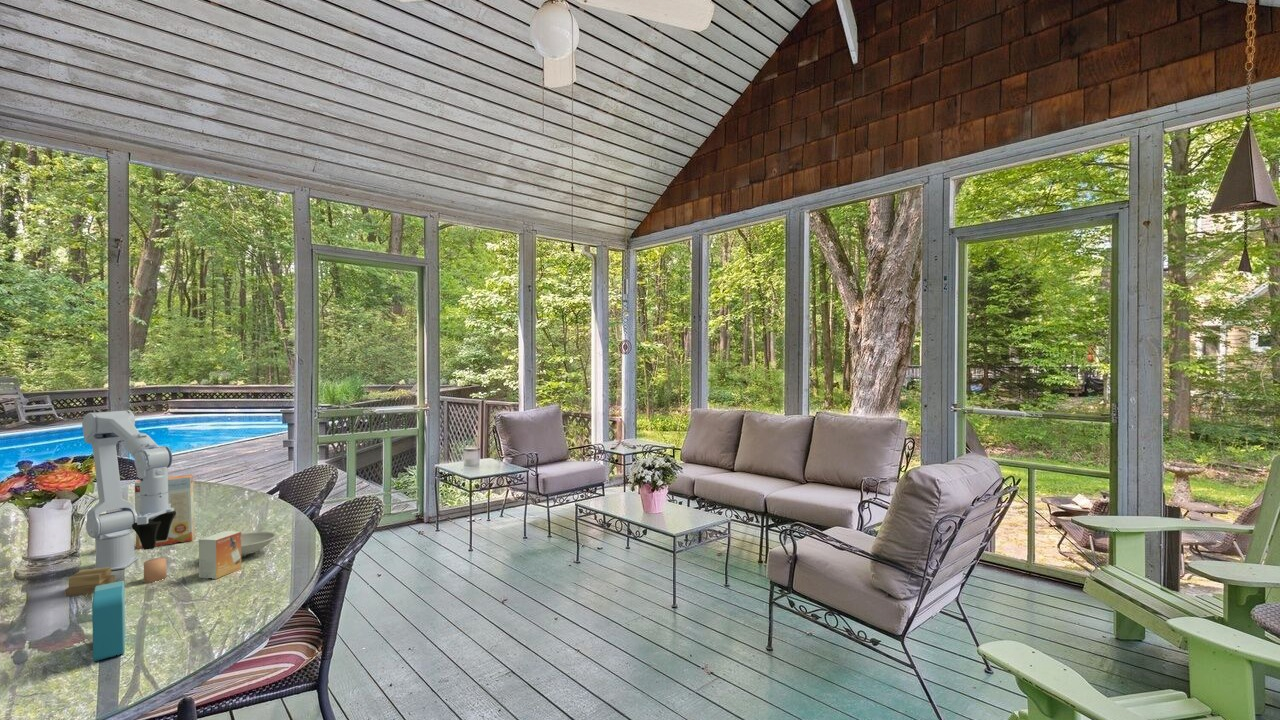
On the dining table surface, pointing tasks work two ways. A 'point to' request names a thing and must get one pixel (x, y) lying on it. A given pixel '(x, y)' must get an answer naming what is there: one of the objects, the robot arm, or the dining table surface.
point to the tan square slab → (87, 588)
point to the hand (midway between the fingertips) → (155, 544)
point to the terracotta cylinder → (155, 570)
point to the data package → (108, 620)
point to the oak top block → (89, 577)
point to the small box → (219, 554)
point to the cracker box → (175, 509)
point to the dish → (255, 541)
